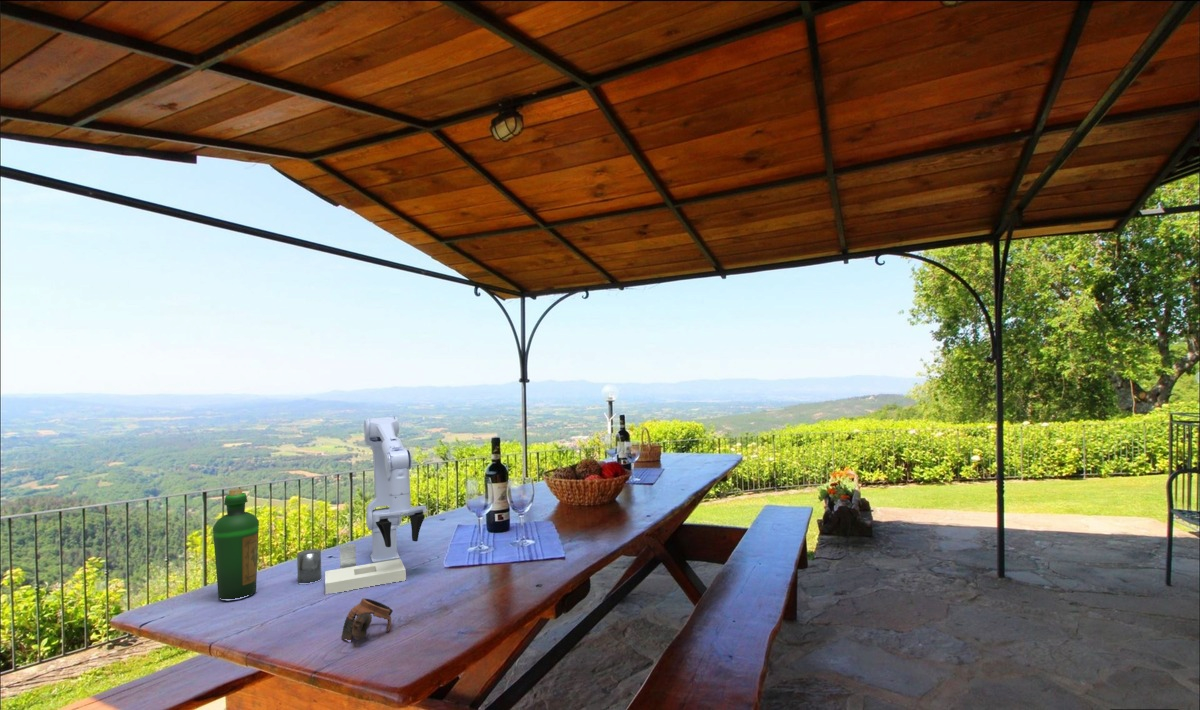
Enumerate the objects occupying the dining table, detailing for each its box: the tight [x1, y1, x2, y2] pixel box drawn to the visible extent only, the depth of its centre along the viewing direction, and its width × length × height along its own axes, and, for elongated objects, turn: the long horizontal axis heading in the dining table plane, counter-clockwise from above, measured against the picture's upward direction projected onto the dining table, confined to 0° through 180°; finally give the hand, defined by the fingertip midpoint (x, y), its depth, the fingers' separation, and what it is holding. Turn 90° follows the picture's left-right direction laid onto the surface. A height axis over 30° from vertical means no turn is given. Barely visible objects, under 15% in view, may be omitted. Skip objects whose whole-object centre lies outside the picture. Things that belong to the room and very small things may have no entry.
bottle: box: [212, 487, 260, 599], centre depth 154 cm, size 11×11×28 cm
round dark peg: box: [296, 548, 322, 584], centre depth 164 cm, size 6×6×8 cm
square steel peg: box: [339, 543, 357, 569], centre depth 168 cm, size 4×4×8 cm
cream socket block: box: [324, 558, 407, 595], centre depth 161 cm, size 12×20×3 cm, turn 115°
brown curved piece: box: [341, 598, 394, 640], centre depth 124 cm, size 12×10×8 cm
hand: (401, 543), depth 161 cm, fingers open, 7 cm apart
